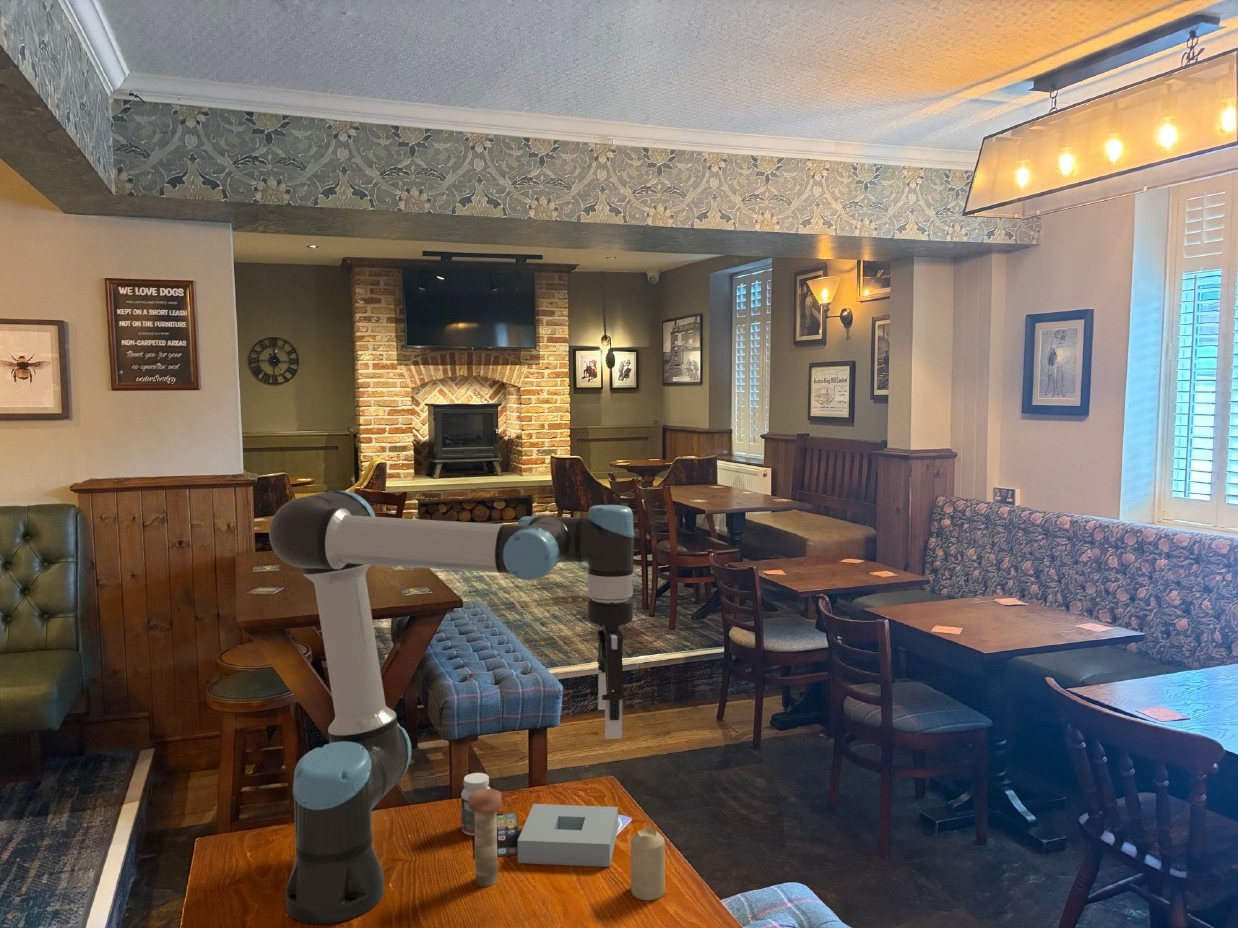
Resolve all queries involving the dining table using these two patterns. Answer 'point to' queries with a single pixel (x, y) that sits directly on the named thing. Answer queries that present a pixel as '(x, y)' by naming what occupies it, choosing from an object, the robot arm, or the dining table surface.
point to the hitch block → (569, 835)
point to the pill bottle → (467, 815)
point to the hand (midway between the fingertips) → (609, 722)
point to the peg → (485, 834)
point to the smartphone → (507, 834)
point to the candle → (647, 864)
